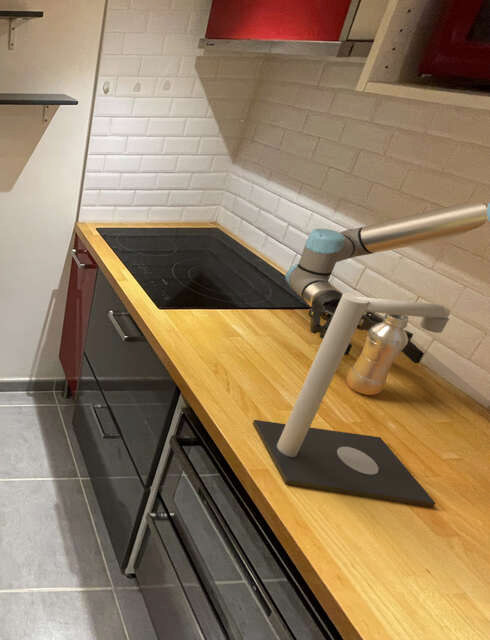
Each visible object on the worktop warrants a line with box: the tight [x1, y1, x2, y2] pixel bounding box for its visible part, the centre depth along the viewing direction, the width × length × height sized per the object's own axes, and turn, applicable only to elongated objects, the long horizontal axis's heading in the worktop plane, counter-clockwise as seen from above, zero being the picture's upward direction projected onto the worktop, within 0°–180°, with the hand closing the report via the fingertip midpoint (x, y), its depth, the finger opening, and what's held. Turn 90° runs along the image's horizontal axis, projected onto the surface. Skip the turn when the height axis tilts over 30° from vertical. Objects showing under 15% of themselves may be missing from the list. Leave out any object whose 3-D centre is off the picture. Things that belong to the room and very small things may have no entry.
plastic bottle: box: [345, 313, 410, 396], centre depth 98 cm, size 6×7×20 cm
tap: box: [252, 292, 451, 509], centre depth 77 cm, size 23×14×35 cm, turn 80°
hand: (383, 354), depth 96 cm, fingers open, 13 cm apart
